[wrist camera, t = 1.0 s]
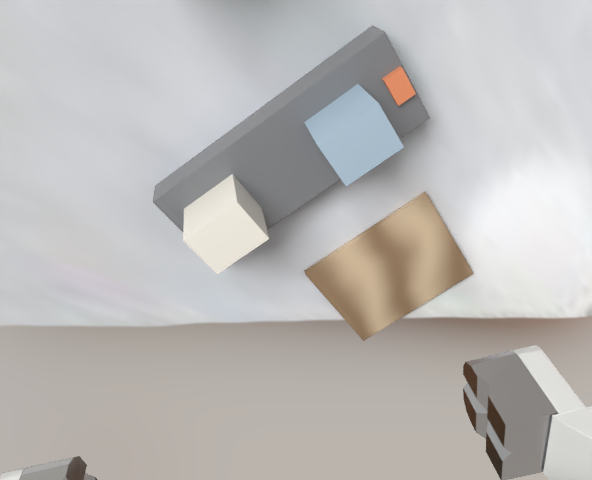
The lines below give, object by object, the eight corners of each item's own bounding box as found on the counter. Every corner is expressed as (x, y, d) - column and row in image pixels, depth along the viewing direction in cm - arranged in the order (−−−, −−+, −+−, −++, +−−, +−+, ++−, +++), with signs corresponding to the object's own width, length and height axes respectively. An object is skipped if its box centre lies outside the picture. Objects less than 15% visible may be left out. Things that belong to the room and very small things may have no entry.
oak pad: (361, 337, 57) (363, 340, 56) (304, 270, 50) (305, 274, 50) (470, 270, 54) (473, 273, 54) (424, 191, 48) (427, 194, 47)
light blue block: (325, 151, 43) (346, 186, 37) (299, 114, 41) (317, 145, 35) (374, 116, 42) (404, 147, 36) (351, 77, 40) (378, 102, 34)
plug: (213, 228, 45) (217, 274, 39) (184, 197, 43) (183, 240, 37) (258, 197, 44) (269, 238, 38) (231, 163, 42) (237, 202, 36)
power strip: (214, 246, 47) (215, 268, 44) (155, 186, 43) (152, 205, 40) (416, 106, 43) (432, 120, 40) (372, 25, 39) (387, 33, 36)
